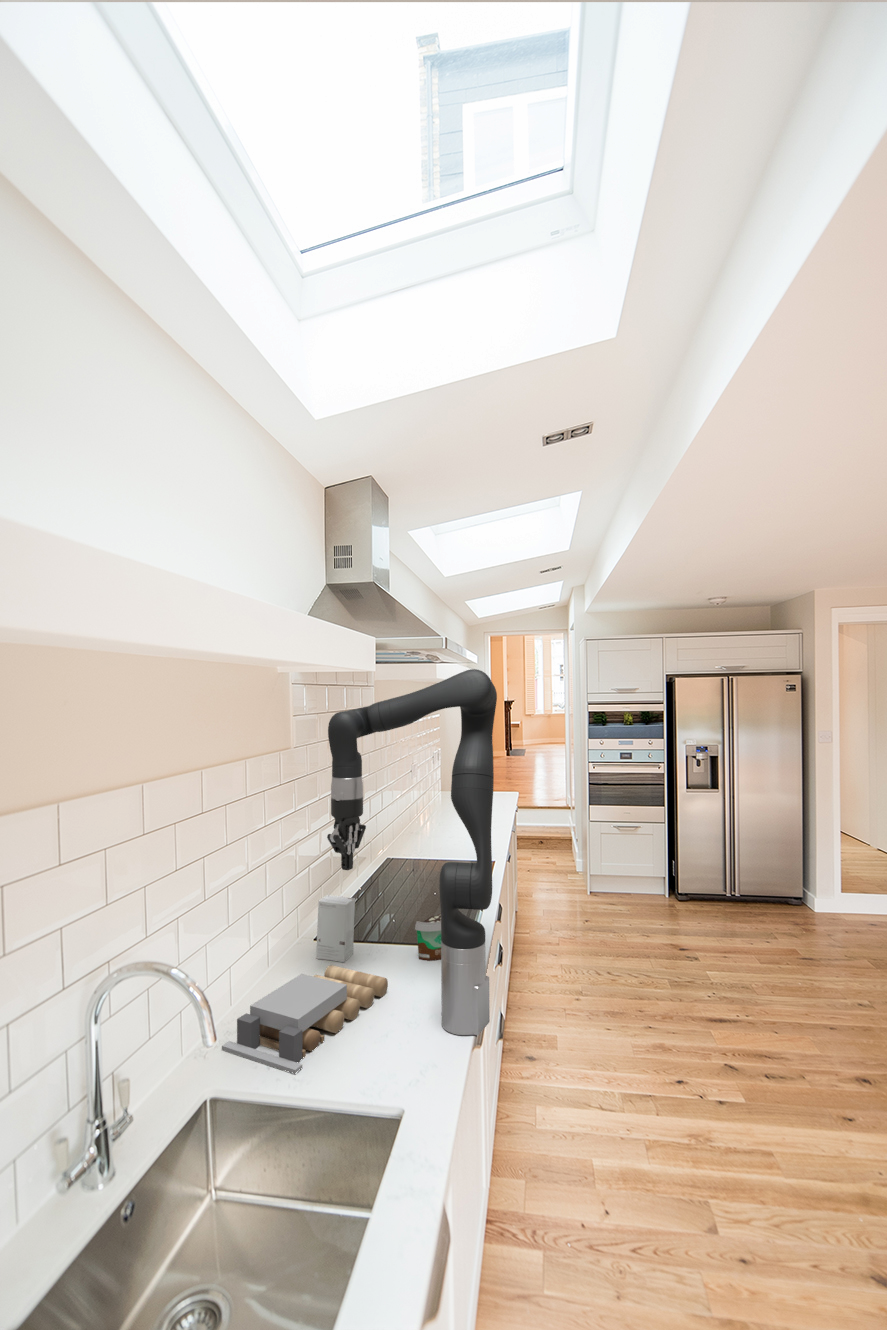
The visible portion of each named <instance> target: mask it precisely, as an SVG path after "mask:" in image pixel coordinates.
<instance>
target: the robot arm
mask: <svg viewBox="0 0 887 1330" xmlns="http://www.w3.org/2000/svg"><path fill="white" fill-rule="evenodd" d="M497 699H498V694H497V689H496V687H495V685H494V683H493V681H492V680H491V678H490V676H489V675H488V674H487V673H485V672H484V671H483V670H480V669H475V668H471V669H470V668H469V669H468V670H467V669H466V670H463V671H462V672H459V673H457V674H455V675H453V676H450V677H448V678H446V679H444V680H441V681H439V682H437V683H434V684H431V685H429V686H426V687H424V688H422V689H419V690H415V691H413V692H409V693H406V694H403V695H399V696H396V697H391V698H389V699H385V700H381V701H377V702H375V703H372V704H370V705H368V706H367V705H366V706H362V707H358V708H355V709H354V708H353V709H349V710H343V711H339V712H335V713H334V715H333V714H332V716H331V717H330V719H329V722H328V725H327V737H328V744H329V749H330V753H331V782H330V783H331V784H330V816H332V818H334V823H333V831H332V833H328V834H327V836H326V839H327V841H328V842H329V844H330V846H331V847H332V849H333V850H334V852H335V853H337V854H341V855H340V861H341V862H340V866H341V869H342V870H343V871H350V870H353V868H354V853H355V852H356V849H359V848H360V845H361V842H362V839H363V837H364V834H365V831H366V828H367V825H365V824H362V823H361V818H360V817H362V816H363V815H364V784H363V783H364V782H363V759H362V754H361V753H360V752H359V751H358V739H359V738H362V737H365V736H368V735H372V734H375V733H382V732H388V731H391V730H395V729H398V728H403V727H405V726H408V725H410V724H413V723H416V722H417V721H419V720H420V719H422V718H424V717H426V716H428V715H430V714H432V713H435V712H438V711H441V710H443V709H451V708H459V707H460V717H461V723H460V724H461V725H460V726H461V730H460V732H461V733H460V734H461V735H460V741H459V744H458V747H457V751H456V754H455V756H454V760H453V764H452V769H451V770H452V771H451V787H450V799H451V800H450V801H451V802H452V805H453V808H454V810H455V811H456V813H457V815H458V817H459V819H460V820H461V822H462V823H463V825H464V827H465V829H466V831H467V832H468V835H469V837H470V839H471V841H472V844H473V847H474V851H475V855H476V862H465V861H464V862H461V861H460V862H457V861H446V862H445V863H443V864H442V866H441V869H440V871H439V886H438V887H439V888H438V889H439V903H440V914H441V960H440V963H441V964H440V967H441V969H440V970H441V976H440V977H441V979H440V980H441V981H440V982H441V988H440V991H441V993H440V994H441V1013H440V1014H441V1026H442V1029H444V1030H445V1031H446V1032H448V1033H450V1034H454V1035H457V1036H458V1035H459V1036H471V1035H474V1036H479V1035H481V1033H482V1032H483V1030H484V1029H485V1028H486V1027H487V1025H489V1023H490V1019H491V1018H490V976H489V975H486V971H487V970H486V928H485V927H484V925H483V924H482V923H481V922H480V921H477V920H475V919H472V918H471V917H468V916H466V915H465V914H464V913H462V911H460V910H477V911H479V910H480V911H481V910H482V911H483V910H487V909H488V908H490V905H491V903H492V897H493V860H492V857H493V854H492V822H493V821H492V817H493V803H494V802H493V801H494V800H493V799H494V781H495V779H494V776H495V775H494V773H495V772H494V747H493V732H494V725H495V724H494V723H495V715H496V709H497V708H496V707H497Z"/></svg>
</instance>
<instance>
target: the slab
mask: <svg viewBox="0 0 887 1330" xmlns="http://www.w3.org/2000/svg"><path fill="white" fill-rule="evenodd" d="M346 999H347V985H346V984H342V983H338V982H334V981H330V980H326V979H322V978H318V977H314V975H310V974H305V973H300V974H299V975H297V976H295V977H294V978H292V979H291V980H289V981H287V982H286V983H284V984H283V985H281V986H280V987H278V988H276V989H275V990H273V991H271V992H270V993H268V994H266V995H264V996H263V997H262V998H260V999H258V1000H257V1001H256V1002H253V1003H252V1004H251V1005H250V1006H249V1014H251V1015H254V1016H257V1017H260V1024H262V1025H265V1026H268V1027H272V1028H275V1029H278V1030H282V1029H284V1028H285V1027H286V1026H291V1027H295V1028H298V1029H302V1032H303V1031H305V1030H306V1029H307V1028H309V1029H310V1027H312V1026H311V1025H313V1024H314V1023H315V1022H317V1021H318V1020H320V1019H321V1018H322V1017H324V1016H325V1015H326V1014H328V1013H329V1012H330V1011H332V1010H333V1009H334V1008H336V1007H337V1006H338V1005H340V1004H341V1003H342V1002H344V1001H345V1000H346Z"/></svg>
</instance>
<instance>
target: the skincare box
mask: <svg viewBox="0 0 887 1330" xmlns="http://www.w3.org/2000/svg"><path fill="white" fill-rule="evenodd" d="M317 907H318V909H317V910H318V911H317V930H316V950H315V951H316V952H315V957H316V959H318V960H326V961H334V962H341V963H345V962H346V961H347V960H348V959H349V958H350V957H351V956H352V955H353V954H354V934H355V911H356V909H355V908H356V898H355V897H349V896H342V895H335V894H334V895H331V894H326V895H325V896H324V897H322V898H321V899H319V900H318V906H317Z"/></svg>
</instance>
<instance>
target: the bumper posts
mask: <svg viewBox="0 0 887 1330" xmlns="http://www.w3.org/2000/svg"><path fill="white" fill-rule="evenodd" d="M278 1042H279V1051H278V1055H275V1054H271V1053H268V1052H265V1051H262V1050H259V1049H257V1048H258V1047H259V1046H261V1045H260V1017H257V1016H254V1015H251V1014H250V1013H247V1012H246V1013H245V1014H243V1015H241V1016H240V1017H238V1018H237V1019H236V1042H234V1041H230V1040H228V1041H226V1042H225V1043H224V1044H223V1045H221V1051H224V1052H226V1053H230V1054H232V1055H235V1056H239V1057H242V1058H245V1059H248V1060H251V1061H253V1062H256V1063H258V1064H259V1063H260V1064H261V1065H265V1066H268V1065H269V1067H271V1066H272V1067H271V1068H274V1067H276V1068H275V1069H277V1068H279V1069H278V1070H280V1069H282V1070H281V1071H283V1070H286V1071H289V1072H293V1073H296V1072H297V1071H298V1070H299V1069H301V1068H302V1069H303V1064H302V1063H299V1062H301V1061H302V1060H303V1058H302V1029H298V1028H295V1027H291V1026H286V1027H285V1028H284V1029H282V1030H281V1031H279V1041H278ZM301 1059H302V1060H301ZM300 1060H301V1061H300ZM297 1062H298V1063H297ZM286 1071H285V1072H286ZM289 1072H288V1073H289Z"/></svg>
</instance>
